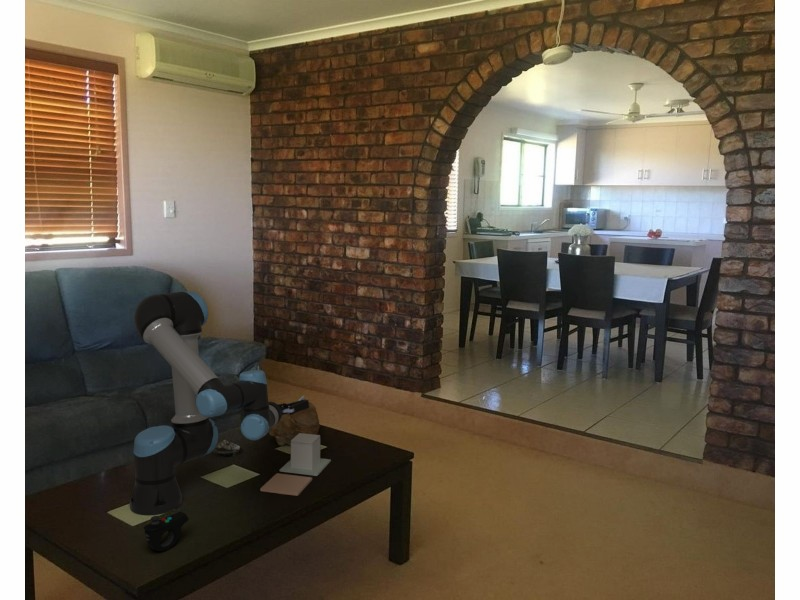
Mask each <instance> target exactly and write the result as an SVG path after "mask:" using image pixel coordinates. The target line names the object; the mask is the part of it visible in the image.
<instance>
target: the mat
mask: <svg viewBox="0 0 800 600" xmlns="http://www.w3.org/2000/svg"><path fill="white" fill-rule="evenodd" d="M331 461H332V460H331V459H330V458H329V459H328V458H321V457H320V462H319V463H318V465H317V466H316V467H315V468H314V469H313V470H307V469H299V468H291V459H290V460H288V461H287V462H286V463H285V464H284V465H283V466H282V467H281V468H280V469H279V472H283V473H291V474H299V475H307V476H312V477H313V476H315V477H318V475H320V473H322V471H323V470H325V468H326V467H327V466H328V465H329V464H330V463H331Z"/></svg>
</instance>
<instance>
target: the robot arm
mask: <svg viewBox="0 0 800 600" xmlns="http://www.w3.org/2000/svg"><path fill="white" fill-rule="evenodd" d="M135 308H136V309H135V312H134V315H133V316H134V317H133V318H134V319H133V321H134V326H135V329H136V331H137V333H138V335H139V336H140V337H141V339H142V340H143V341H144V342H145V343H146V344H149V345H152V346H153V347H154V348H155V349H156V351H157V352H158V353H159V355H161V357H163V358H164V360H166V362H167V363H168V364H169V366H171V376H172V387H173V398H174V409H175V411H174V412H175V415H174V416H173V417H172V418H171V420H170V423H171V426H170V425H158V426H150V427H148V428H145V429H144V430H142V431H140V432H139V433H138V434H137V435H136V436H135V438H134V442H133V443H134V444H133V451H132V452H133V457H134V458H133V459H134V477H135V479H134V481H135V482H134V486H133V490H132V493H131V497H130V499H129V508H130V510H131V512H133V513H134V514H138V515H143V516H150V515H151V516H152V515H153V516H156V515H160V514H165V513H168V512H171V511H174V510H175V509H177V508H179V506H181V504H182V503H183V494H182V491H181V489H180V486H179V484H178V480H177V477H176V467H177V466H180V465H182V464H185V463H188V462H191V461H194V460H196V459H199V458H203V457H204V456H206V455H208V454H210V453H212V451H213V449H214V448H215V447H216V446H217V445H218V443H219V441H218V440H219V431H218V426H216V423H215V421H214V420H212V419H211V418H213V417H216V416H217V417H219V416H221V415H224V414H227V413H229V412H232V411H236V410H240V409H242V411H243V420H242V421H241V423H240V431H241V434H242V435H243V437H245V438H246V439H247V440H250V441H259V440H260V439H262V438H263V437H265V436H266V435H267V434H269V430H271V429H272V428H273V427H274V426H275V425H276V424H277V423H278V422H279V421H280V419H281V417H282V415H285V414H287V413H288V412H289V414H290V415H293V414H294V413H296V412H299V411H302V410H304V409H307V408H309V399H306V395H302V396H301V397H300V398H298V399H297V401H292V402H290V403H283V402H282V403H280V404H278V403H277V402H273V401H269V391H268V382H267V377H266V373H265V371H263V370H261V369H260V370H259V369H255V370H247V371H243V372H241V373H240V374H239V379H238V380H239V381H235V382H231V383H228V384H225V383H224V382H223V381H222V380H221V378H219V377H218V376H217V375H216V373H214V371H213V370H212V369H211V368H210V367H209V366H208V365H207V364H206V362H205V361H204V360H203V359H202V358H201V357H200V353H199V342H198V341H199V340H198V338H199V336H200V335H201V334H202V333H203V330H202V329H203V328H202V326H203V325H205V324H206V323H207V322H208V321H207V320H208V318H209V309H208V305H207V303H206V301H205V299H204V298H203V297H202V296H201V295H200V293H197V292H196V291H192V290H191V291H177V292H176V291H175V292H168V293H167V292H166V293H161V294H152V295H149V296H147V297H145V298H144V299H142V300H141V301H140V302H139V303H138V304H137V307H135Z"/></svg>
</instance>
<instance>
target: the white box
mask: <svg viewBox="0 0 800 600" xmlns="http://www.w3.org/2000/svg"><path fill="white" fill-rule="evenodd" d="M320 458H321V435H320V434H317V435H313V434H304V433H299V434H298V435H297V436H296V437H294V438H293V439H292V440H291V445H290V460H291V468H299V469H307V470H313V469H314V468H315V467H316V466H317V465H318V463H319V462H320Z"/></svg>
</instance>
